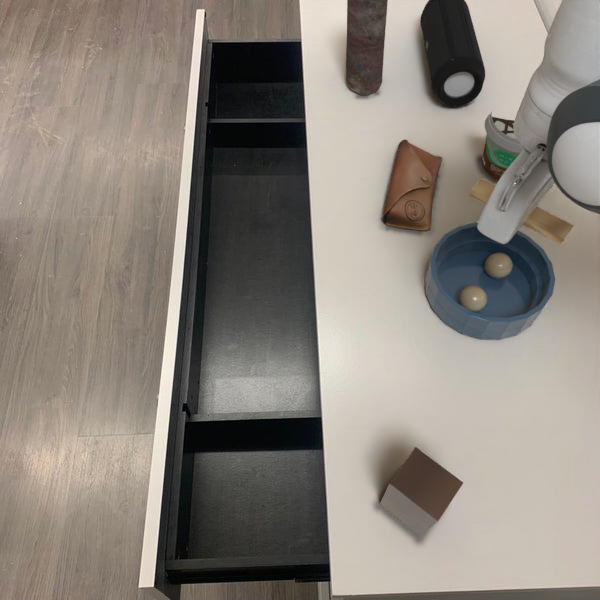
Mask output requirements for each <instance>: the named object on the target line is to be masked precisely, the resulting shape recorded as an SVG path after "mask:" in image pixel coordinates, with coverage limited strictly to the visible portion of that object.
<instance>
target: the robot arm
mask: <svg viewBox="0 0 600 600" xmlns="http://www.w3.org/2000/svg"><path fill="white" fill-rule="evenodd" d="M543 47H544V48H543V58H542V61H541V62H540V63H539V66H538V67H537V68H536V69H535V70H534V72H533V73H532V75H531V77H530V78H529V81H528V84H527V87H526V89H525V92H524V94H523V97H522V100H521V102H520V104H519V108H518V110H517V112H516V115H515V118H514V119H513V120H514V125H513V129H514V134H515V137H516V138H517V140H518V142H519V143H520V144H521V146H522V149H523V151H522V152H521V153H520V154H519V155H518V157H517V158H516V159H515V160H514V161H513V163H512V164H511V165H510V166H509V167H508V168H507V170H506V171H505V172H504V173H503V175H502V176H501V178H500V179H499V181H498V180H497V183H496V184H495V185H496V186H495V188H494V190H493V191H492V193H491V195H490V197H489V200H488V202H487V204H486V205H485V206H484V208H483V210H482V212H481V215H480V217H479V219H478V224H477V228H478V230H479V231H480V232H481V233H482V234H484V235H485V236H487V237H489V238H490V239H492V240H494V241H496V242H499V243H502V244H506V243H508V242H509V241H510V240H511V239H512V237H513V236H514V235H515V234H516V232H517V231H520V229H521V227H522V226H524V225H523V223H524V222H525V221H526V219H527V218H528V217H529V215H530V214H531V213H532V212H533V210H534V209H535V208H536V206H537V207H538V205H539V204H540V202H541V201H542V200H543V199H544V197H545V196H546V195H547V194H548V192H549V191H550V190H551V189H552V187H553V186H554V184H555V185H556V187H557V188H558V190H559V191H560V192H561V193H562V194H563V195H564V196H565V197H566V198H568V199H569V200H570V201H571V202H572V203H574V204H576V205H577V206H579V207H580V208H583V209H585V210H587V211H589V212H592V213H594V214H598V215H600V0H561V2H560V4H559V6H558V8H557V10H556V12H555V15H554V17H553V20H552V23H551V24H550V27H549V30H548V32H547V34H546V38H545V42H544V46H543Z"/></svg>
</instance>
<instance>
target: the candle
mask: <svg viewBox="0 0 600 600" xmlns="http://www.w3.org/2000/svg"><path fill="white" fill-rule="evenodd" d="M387 14H388V0H347V1H346V46H345V83H346V85H347V86H348V88H349V89H350V90H351V91H353V92H355V93H357V94H358V95H360V96H370V95H372V94H373V93H376V92H378V91H379V89H380V87H381V86H382V83H383V73H384V72H383V71H384V55H385V40H386V26H387Z"/></svg>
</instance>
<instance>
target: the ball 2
mask: <svg viewBox="0 0 600 600" xmlns="http://www.w3.org/2000/svg"><path fill="white" fill-rule="evenodd" d="M512 267H513V264H512V260H511V259H510V257H509V256H508V255H506V254H504V253H494V254H492V255H490V256H489V257H488V258H487V260H486V262H485V270H486V272H487V274H488V275H489V276H491V277H492V278H496V279H501V278H504V277H506V276H508V275H509V274H510V272H511V270H512Z"/></svg>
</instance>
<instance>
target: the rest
mask: <svg viewBox="0 0 600 600" xmlns="http://www.w3.org/2000/svg"><path fill="white" fill-rule="evenodd" d="M463 485H464V481H463V480H461V479H459V478H458V477H456V476H455V475H454V474H453V473H451V472H450V471H449V470H447V469H446V468H445V467H443V466H442V465H441V464H440V463H438V462H437V461H435V460H434V459H433V458H431V457H430V456H429V455H427V454H426V453H424V452H423V451H422V450H420V449H419V448H418V447H416V446H415V447H414V448H413V450H412V451H411V452H410V453H409V455H408V456H407V458H406V459H405V461H404V462H403V464H401V466H400V468H399V469H398V471H396V473H395V474H394V476H393V477H392V478H391V480H390V482H389V483H388V485H387V488H386V490H385V492H384V494H383V496H382V498H381V500H380V503H379V505H380V506H381V507H382V508H383V509H385V510H386V511H387V512H388V513H390V515H392V516H393V517H394V518H396V520H398V521H399V522H401V523H402V524H403V525H404V526H405V527H407V529H409V530H410V531H412V532H413V533H414V534H415V535H417V536H418V537H419V538H421V537H422V536H424V535H425V534H426V533H427V532H428V531H429V530H430V529H431V528H433V527H434V526H435V525H436V524H437V523H438V522H439V521H440V520H441V518H442V516H443V515H444V514H445V512H446V511H447V509H448V508H449V506H450V505H451V503H452V501H453V500H454V498H455V497H456V495H457V493H458V492H459V490H460V489H461V488H462V486H463Z"/></svg>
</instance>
